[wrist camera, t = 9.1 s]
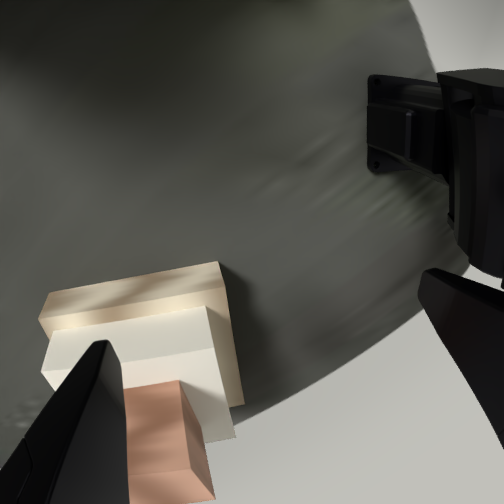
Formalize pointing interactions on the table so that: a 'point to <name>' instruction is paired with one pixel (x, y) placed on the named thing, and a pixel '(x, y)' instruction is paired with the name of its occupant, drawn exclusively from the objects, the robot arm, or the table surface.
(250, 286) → the table surface
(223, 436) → the cream top slab
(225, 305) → the birch base slab
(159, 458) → the terracotta cube
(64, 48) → the table surface
